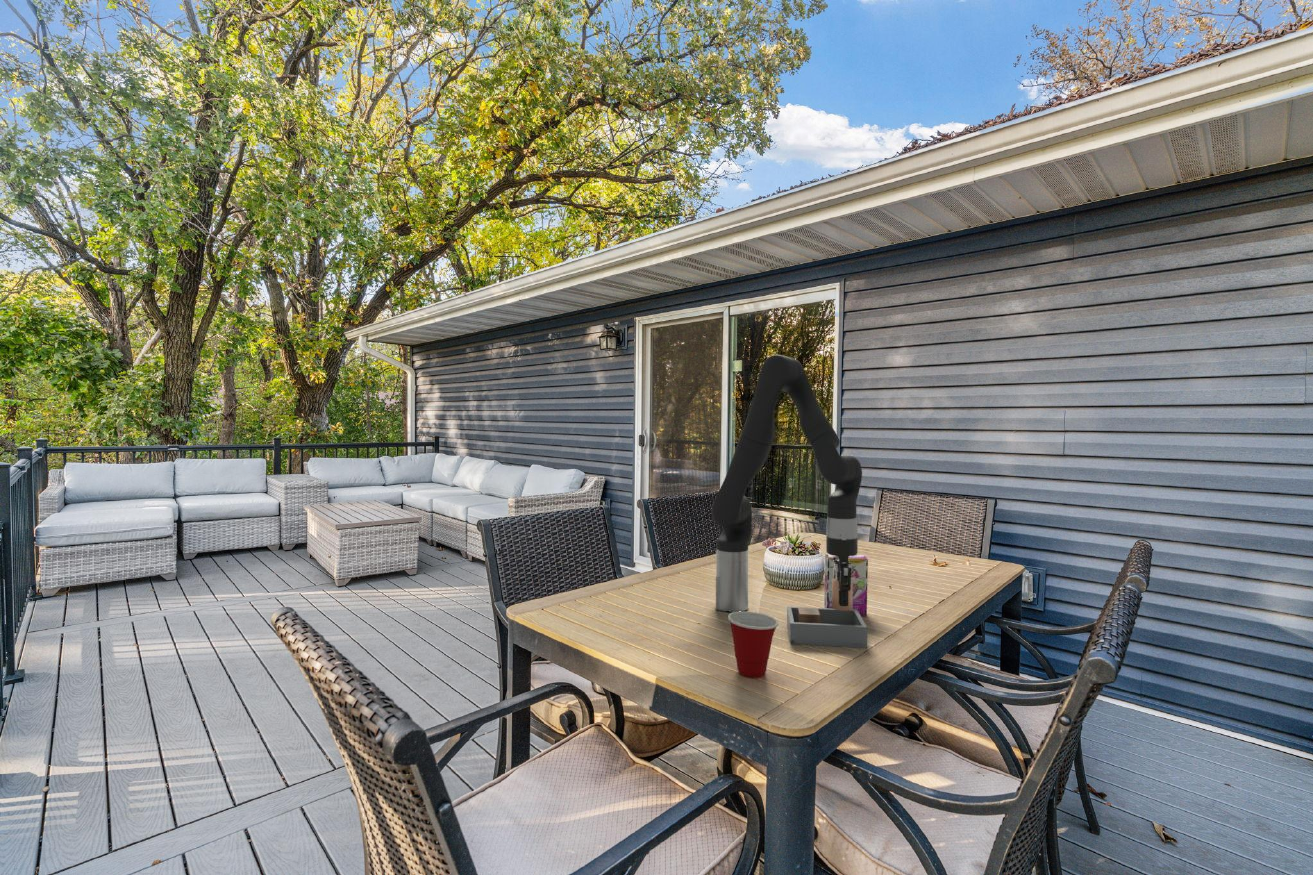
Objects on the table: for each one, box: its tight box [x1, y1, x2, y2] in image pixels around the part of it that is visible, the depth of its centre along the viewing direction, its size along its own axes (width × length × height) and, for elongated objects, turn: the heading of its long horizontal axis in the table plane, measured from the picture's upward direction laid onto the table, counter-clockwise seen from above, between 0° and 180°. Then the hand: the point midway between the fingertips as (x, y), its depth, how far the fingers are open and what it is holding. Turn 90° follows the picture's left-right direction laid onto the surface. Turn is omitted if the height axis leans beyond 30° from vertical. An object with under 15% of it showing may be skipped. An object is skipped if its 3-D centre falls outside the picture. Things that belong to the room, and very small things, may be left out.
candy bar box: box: [823, 553, 869, 617], centre depth 171 cm, size 11×5×16 cm, turn 84°
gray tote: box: [786, 606, 868, 649], centre depth 152 cm, size 18×14×5 cm
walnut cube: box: [798, 608, 820, 624], centre depth 153 cm, size 5×5×5 cm
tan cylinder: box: [832, 578, 853, 611], centre depth 152 cm, size 5×5×7 cm
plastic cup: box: [727, 611, 779, 679], centre depth 130 cm, size 11×11×12 cm
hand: (841, 602), depth 152 cm, fingers closed on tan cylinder, 5 cm apart
